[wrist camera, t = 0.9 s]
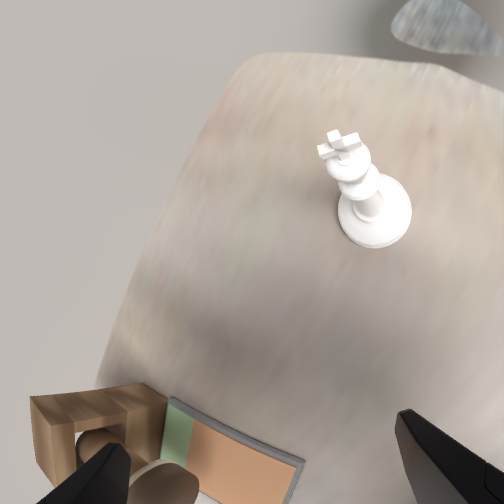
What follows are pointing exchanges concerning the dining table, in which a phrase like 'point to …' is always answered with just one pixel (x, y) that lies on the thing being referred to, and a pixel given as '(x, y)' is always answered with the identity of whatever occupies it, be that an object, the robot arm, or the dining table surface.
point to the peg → (145, 473)
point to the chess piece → (365, 193)
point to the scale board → (227, 459)
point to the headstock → (95, 424)
